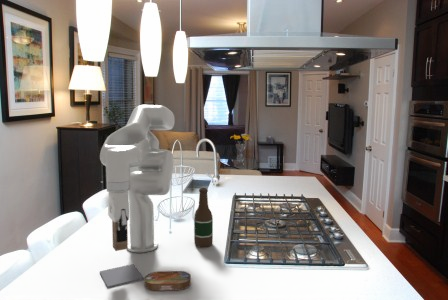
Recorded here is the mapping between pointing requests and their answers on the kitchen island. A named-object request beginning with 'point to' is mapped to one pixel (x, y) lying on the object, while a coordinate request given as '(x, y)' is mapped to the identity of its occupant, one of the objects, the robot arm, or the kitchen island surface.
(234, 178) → the kitchen island surface
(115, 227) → the walnut block
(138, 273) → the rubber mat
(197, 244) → the beer bottle
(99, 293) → the kitchen island surface
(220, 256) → the kitchen island surface
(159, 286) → the tin
